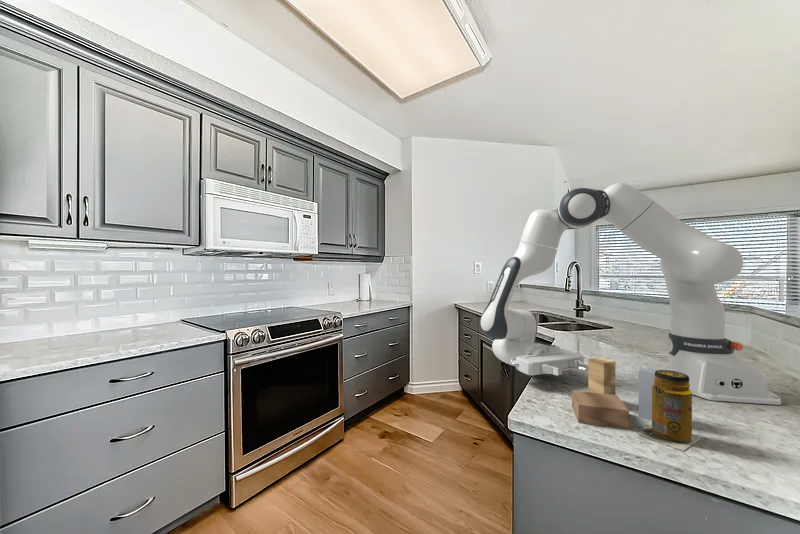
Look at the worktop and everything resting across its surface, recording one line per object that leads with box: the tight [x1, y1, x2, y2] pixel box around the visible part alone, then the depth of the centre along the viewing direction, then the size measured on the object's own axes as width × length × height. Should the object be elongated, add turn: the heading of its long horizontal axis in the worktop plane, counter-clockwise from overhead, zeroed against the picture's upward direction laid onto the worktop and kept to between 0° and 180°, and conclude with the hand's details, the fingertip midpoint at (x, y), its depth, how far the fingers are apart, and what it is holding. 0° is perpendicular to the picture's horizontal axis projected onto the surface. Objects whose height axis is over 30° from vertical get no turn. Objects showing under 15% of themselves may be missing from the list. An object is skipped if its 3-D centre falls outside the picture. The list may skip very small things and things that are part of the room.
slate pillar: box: [638, 367, 658, 422], centre depth 74 cm, size 4×4×10 cm
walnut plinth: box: [571, 390, 630, 430], centre depth 75 cm, size 9×9×4 cm
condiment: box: [636, 369, 701, 452], centre depth 66 cm, size 7×8×12 cm
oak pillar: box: [587, 357, 617, 395], centre depth 83 cm, size 4×4×10 cm
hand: (573, 370), depth 91 cm, fingers open, 8 cm apart
